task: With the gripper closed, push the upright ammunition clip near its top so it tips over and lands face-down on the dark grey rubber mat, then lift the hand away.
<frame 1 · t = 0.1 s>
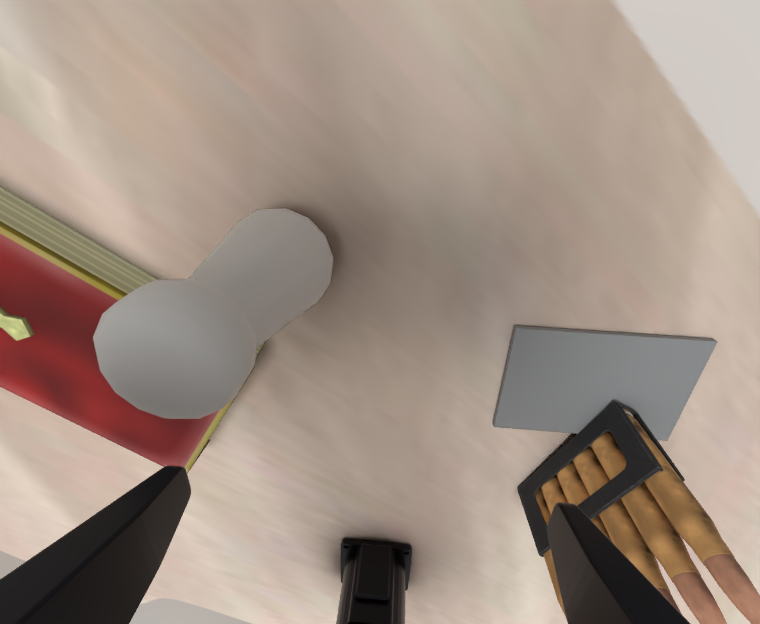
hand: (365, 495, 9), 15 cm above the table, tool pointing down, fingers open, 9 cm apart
salt shaker: (294, 250, 22), on the table
ammunition clip: (570, 450, 26), on the table, touching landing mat
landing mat: (593, 384, 24), on the table
hardcover book: (109, 319, 25), on the table
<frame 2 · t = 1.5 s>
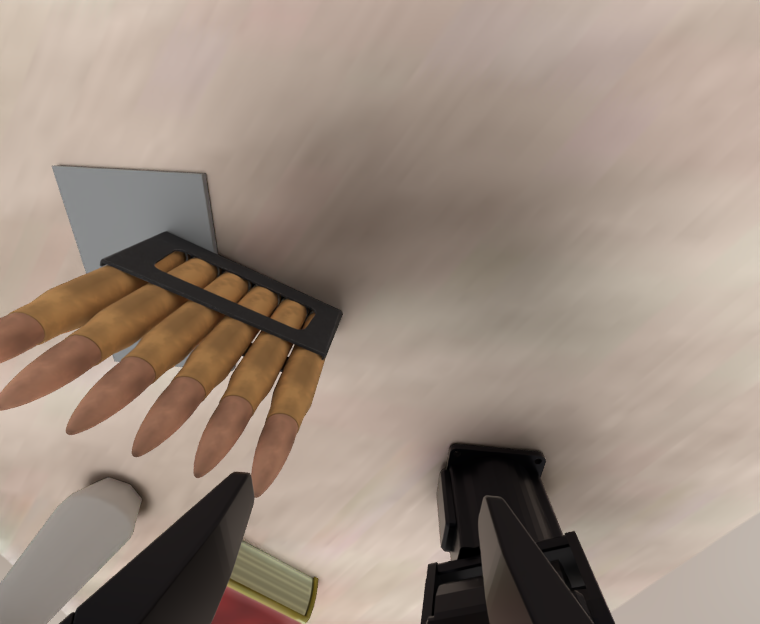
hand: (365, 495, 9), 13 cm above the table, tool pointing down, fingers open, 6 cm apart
salt shaker: (119, 492, 30), on the table
ammunition clip: (254, 285, 21), on the table, touching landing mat
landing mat: (156, 277, 21), on the table
hardcover book: (215, 587, 36), on the table
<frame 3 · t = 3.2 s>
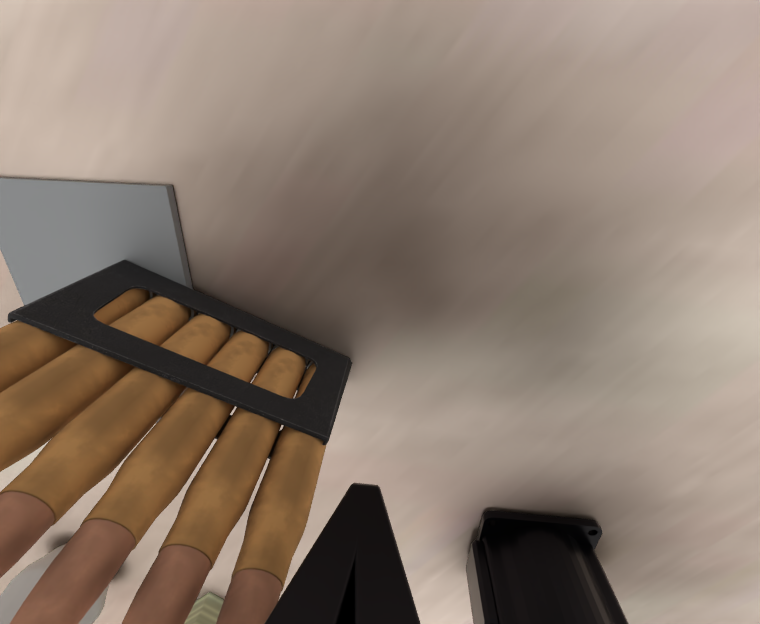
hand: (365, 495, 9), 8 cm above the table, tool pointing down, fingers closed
salt shaker: (89, 556, 26), on the table
ammunition clip: (239, 326, 16), on the table, touching gripper, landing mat
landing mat: (116, 316, 17), on the table
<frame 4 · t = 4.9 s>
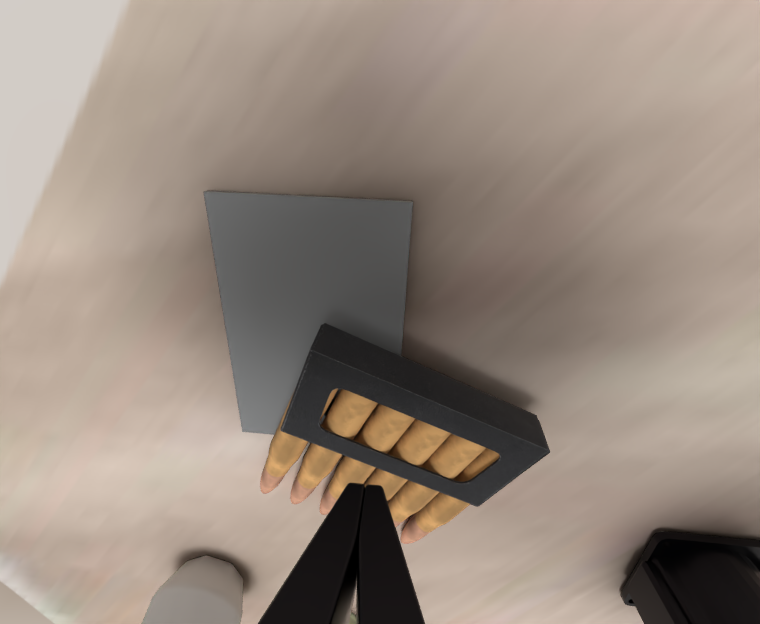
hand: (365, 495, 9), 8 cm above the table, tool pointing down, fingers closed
salt shaker: (215, 570, 25), on the table
ammunition clip: (439, 383, 14), point 2 cm above the table, touching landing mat
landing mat: (315, 332, 16), on the table
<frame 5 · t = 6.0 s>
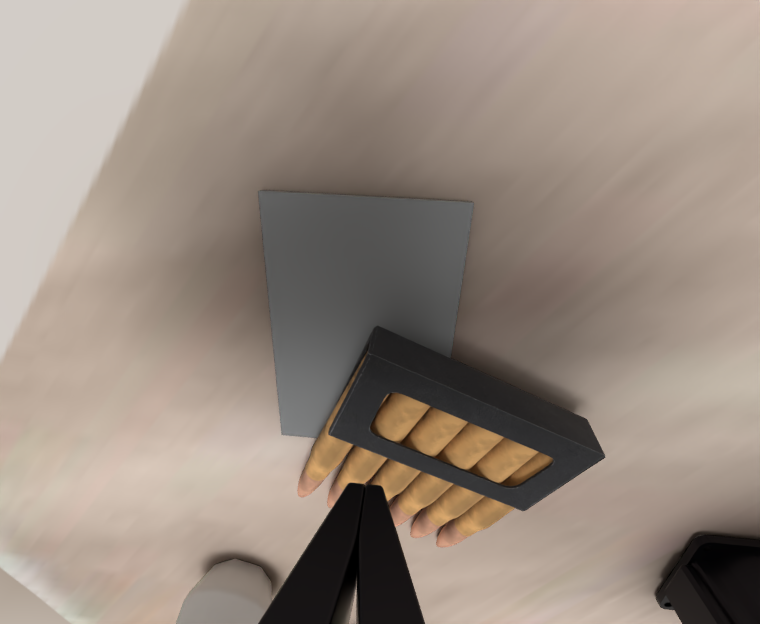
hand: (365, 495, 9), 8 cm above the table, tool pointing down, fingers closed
salt shaker: (243, 574, 25), on the table
ammunition clip: (495, 387, 14), point 2 cm above the table, touching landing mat
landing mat: (362, 335, 16), on the table
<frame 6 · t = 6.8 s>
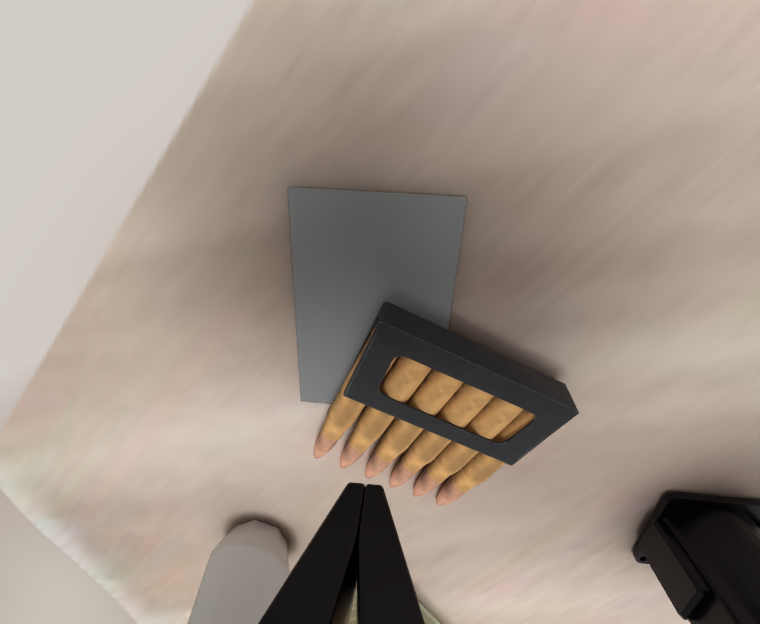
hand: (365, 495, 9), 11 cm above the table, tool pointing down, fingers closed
salt shaker: (261, 535, 27), on the table
ammunition clip: (485, 353, 17), point 2 cm above the table, touching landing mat
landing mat: (372, 311, 18), on the table
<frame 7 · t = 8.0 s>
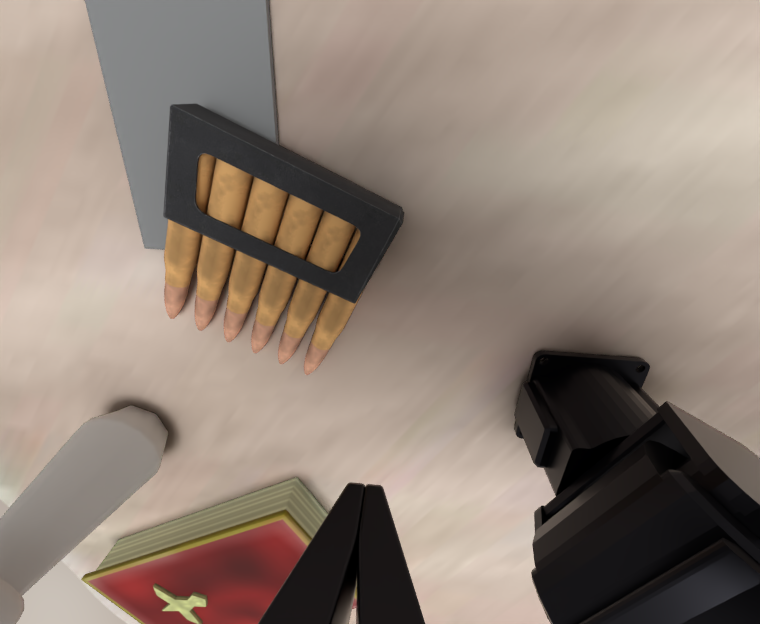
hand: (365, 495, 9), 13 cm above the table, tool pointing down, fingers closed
salt shaker: (143, 425, 26), on the table
ammunition clip: (300, 157, 16), point 2 cm above the table, touching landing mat
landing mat: (199, 132, 17), on the table
hardcover book: (243, 542, 32), on the table
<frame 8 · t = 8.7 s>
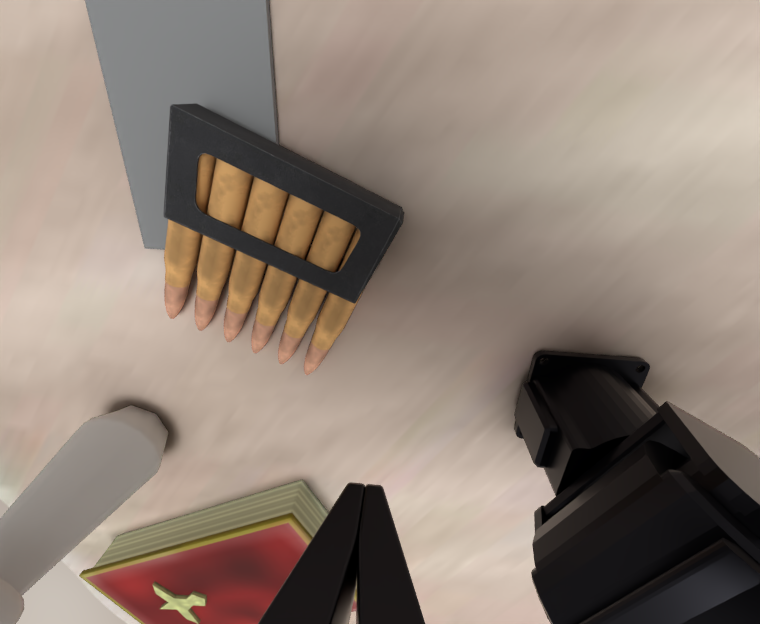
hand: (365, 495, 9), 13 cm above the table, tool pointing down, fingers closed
salt shaker: (143, 425, 26), on the table
ammunition clip: (300, 157, 16), point 2 cm above the table, touching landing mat
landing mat: (199, 132, 17), on the table
hardcover book: (243, 542, 32), on the table
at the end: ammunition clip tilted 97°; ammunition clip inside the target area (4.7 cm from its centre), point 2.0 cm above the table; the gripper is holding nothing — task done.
